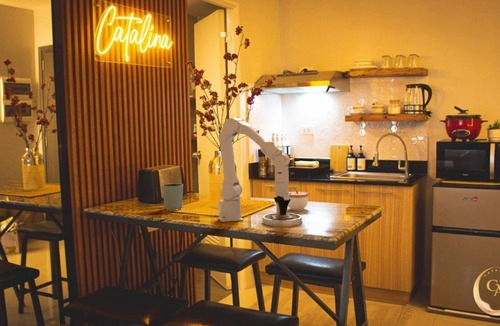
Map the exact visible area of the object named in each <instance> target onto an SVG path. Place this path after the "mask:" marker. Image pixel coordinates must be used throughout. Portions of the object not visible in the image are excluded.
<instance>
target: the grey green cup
mask: <svg viewBox="0 0 500 326" xmlns="http://www.w3.org/2000/svg"><path fill="white" fill-rule="evenodd" d="M161 188H162V195H163V202H164V203H163V204H164V210H165V209H166V210H165V211H177V210H176V209H180V210H182V209H183V198H184V196H183V194H184V184H183V183H179V182H176V183H175V182H173V183H164V184H162V186H161ZM181 208H182V209H181Z"/></svg>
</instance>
